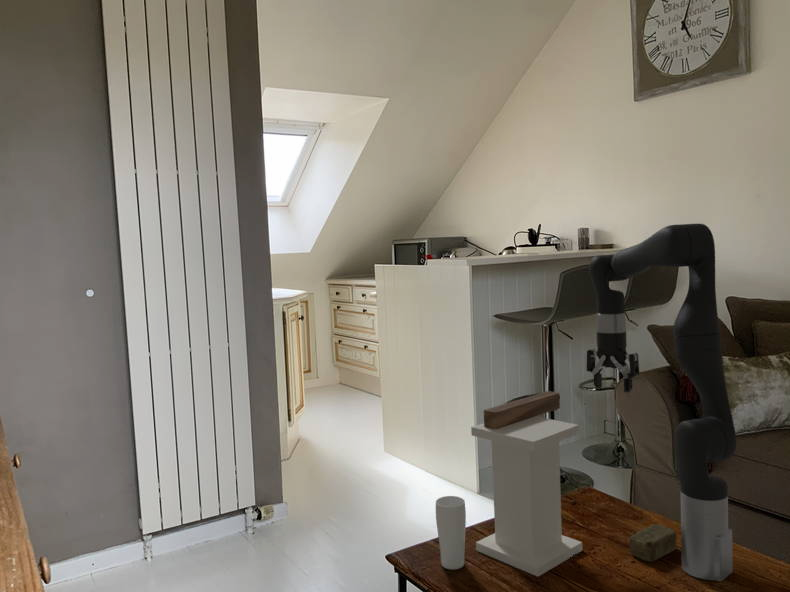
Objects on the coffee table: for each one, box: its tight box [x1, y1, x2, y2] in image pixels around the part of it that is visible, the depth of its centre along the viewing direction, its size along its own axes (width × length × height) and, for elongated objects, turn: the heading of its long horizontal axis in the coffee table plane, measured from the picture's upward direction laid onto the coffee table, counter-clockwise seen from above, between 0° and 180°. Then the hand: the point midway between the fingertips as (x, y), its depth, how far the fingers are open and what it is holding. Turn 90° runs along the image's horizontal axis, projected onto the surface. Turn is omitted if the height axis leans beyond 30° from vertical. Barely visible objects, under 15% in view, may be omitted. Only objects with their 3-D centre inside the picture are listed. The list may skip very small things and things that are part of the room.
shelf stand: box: [470, 416, 583, 578], centre depth 154 cm, size 18×17×30 cm
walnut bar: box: [483, 390, 561, 429], centre depth 160 cm, size 4×25×4 cm, turn 131°
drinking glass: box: [435, 495, 467, 571], centre depth 149 cm, size 7×7×15 cm
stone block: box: [629, 523, 678, 563], centre depth 151 cm, size 6×12×5 cm, turn 127°
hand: (612, 389), depth 176 cm, fingers open, 8 cm apart
